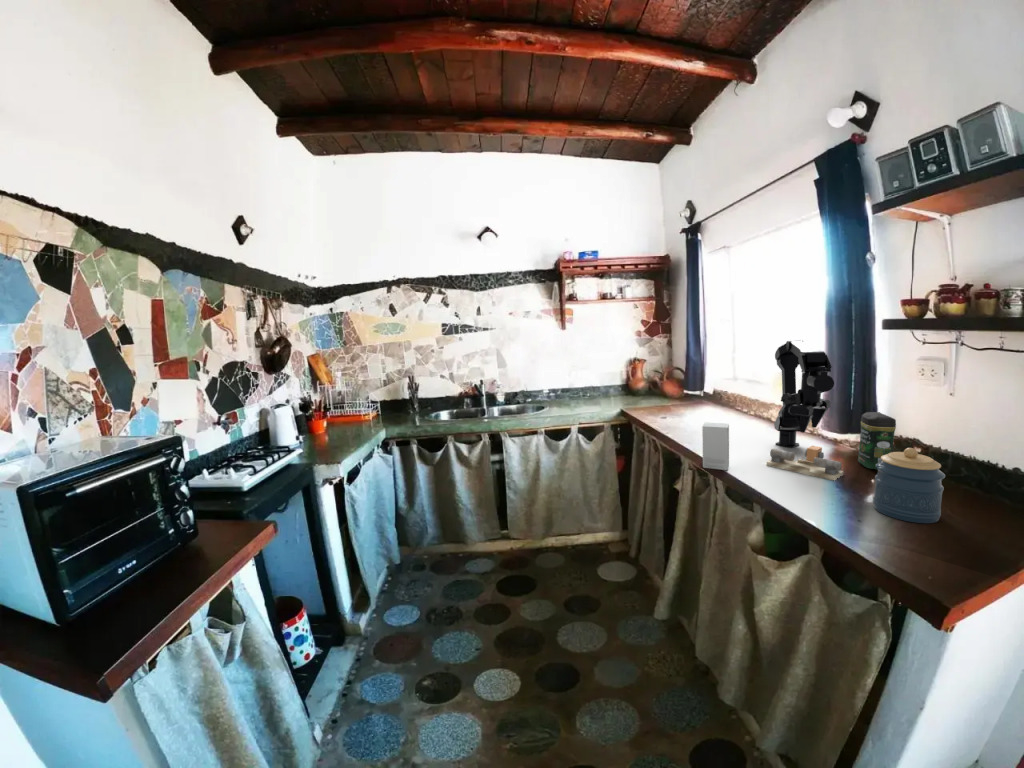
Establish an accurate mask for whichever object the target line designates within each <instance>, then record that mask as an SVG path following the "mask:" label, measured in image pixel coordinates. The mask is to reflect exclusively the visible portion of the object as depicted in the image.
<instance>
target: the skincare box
mask: <svg viewBox="0 0 1024 768" xmlns="http://www.w3.org/2000/svg"><path fill="white" fill-rule="evenodd" d="M701 428H702V429H701V430H702V468H704V469H712V470H723V471H728V470H729V467H730V423H721V422H705V421H704V424H703V425H702V427H701Z"/></svg>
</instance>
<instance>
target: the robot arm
mask: <svg viewBox="0 0 1024 768" xmlns="http://www.w3.org/2000/svg"><path fill="white" fill-rule="evenodd" d="M774 359H775V360H776V366H777V367H778V368H779V369H780V370H781V387H782V390H781V393H782V394H781V397H780V402H782V407H781V408H780V409H779V410H778V412H777V413H778V415H777V417H776V419H775V421H774V423H773V424H774V425H773V426H774V429H775V430H776V431H778V434H779V436H778V441H777V442H775V444H774V445H776V446H782V447H788V448H791V449H792V448H795V447H798V446H799V445H800V443H799V442H797V432H800V433H802V434H804V433H805V432H806V431H807V429H808V427H809V425H810V422H811V427H812V428H813V429H814V428H815V429H816V428H817V427H818V426H819V424H820V422H821V420H822V419H823V418H824V416H825V414H826V413H827V412H828V411H829V408H831V404H832V402H831V401H830V400H829V399H827V398H826V399H825V398H822V396H821V395H822V394H823V393H825V392H826V393H827V392H829V391H830V390H832V389H833V388H834V387H835V386H834V385H835V381H834V379H833V377H832V376H830V375H829V374H828V373H831V372H832V370H831V369H832V364H831V362H830V359H829V356H828V354H827V353H826V352H825V351H824V350H822V349H814V348H813V349H812V348H811V347H810V346H809V345H807V344H806V343H805V342H804V340H803V339H802V340H801V339H790V340H787V341H786V342H785V343H784V344H781V346H779V347H777V349H776V350H775V352H774ZM798 367H800V369H801V382H800V383H801V385H800V387H801V388H800V389H798V390H797V383H796V382H797V377H796V376H797V375H796V369H797V368H798Z"/></svg>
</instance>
